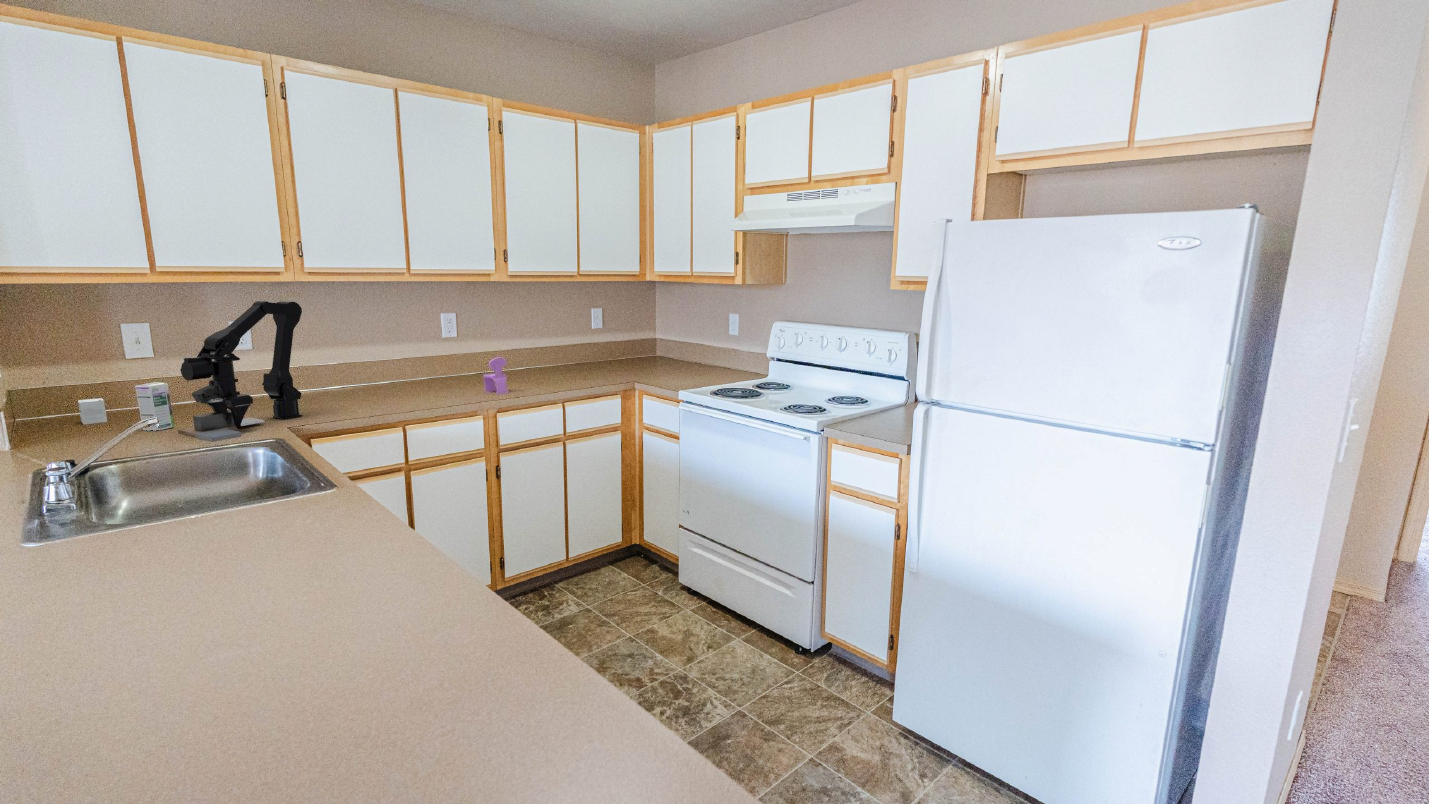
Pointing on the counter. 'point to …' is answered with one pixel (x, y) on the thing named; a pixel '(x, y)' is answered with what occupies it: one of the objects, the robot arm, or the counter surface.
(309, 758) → the counter surface
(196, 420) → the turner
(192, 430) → the plate
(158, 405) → the syrup box
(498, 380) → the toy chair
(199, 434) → the tile
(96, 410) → the skincare box
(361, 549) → the counter surface
